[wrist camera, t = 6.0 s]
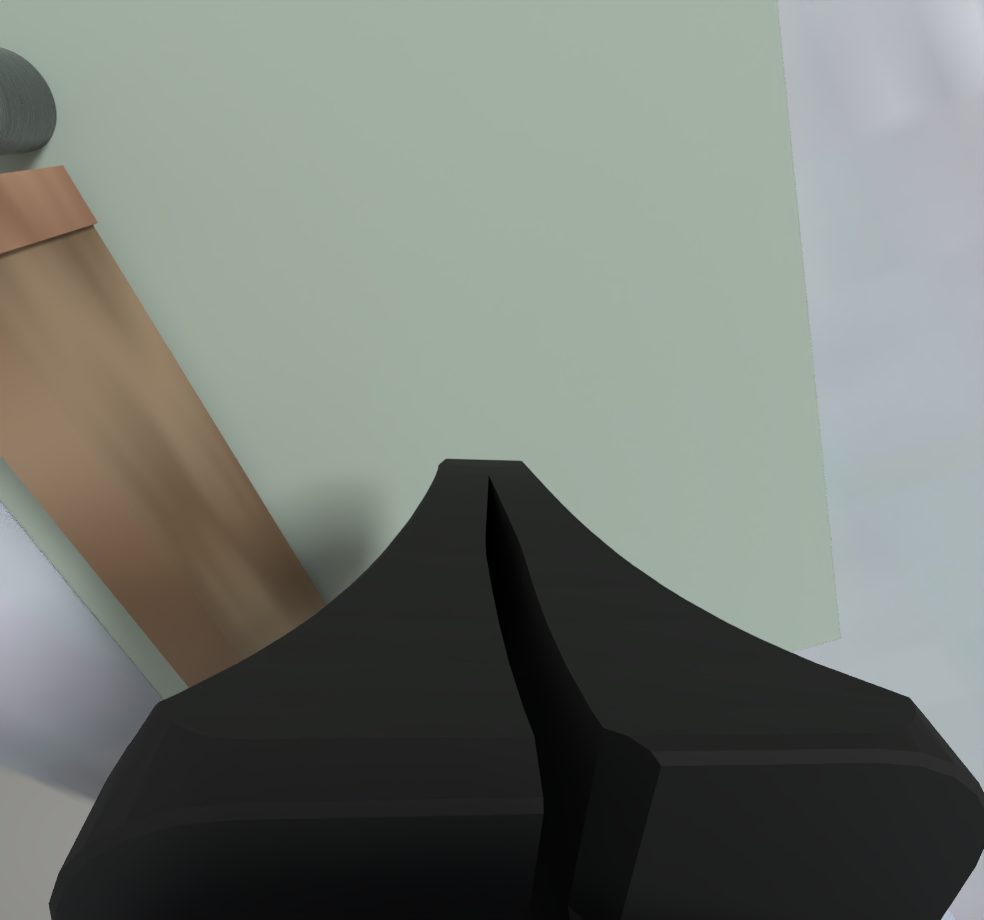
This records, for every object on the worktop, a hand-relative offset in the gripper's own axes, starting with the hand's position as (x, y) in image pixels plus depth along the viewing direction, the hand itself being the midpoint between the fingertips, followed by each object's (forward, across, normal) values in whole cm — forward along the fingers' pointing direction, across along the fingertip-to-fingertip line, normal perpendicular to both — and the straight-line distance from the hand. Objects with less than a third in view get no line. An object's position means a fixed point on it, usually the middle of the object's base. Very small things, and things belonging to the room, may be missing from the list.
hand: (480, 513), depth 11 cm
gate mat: (+5, +2, 0) cm, 5 cm away
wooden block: (+4, +5, +2) cm, 7 cm away
